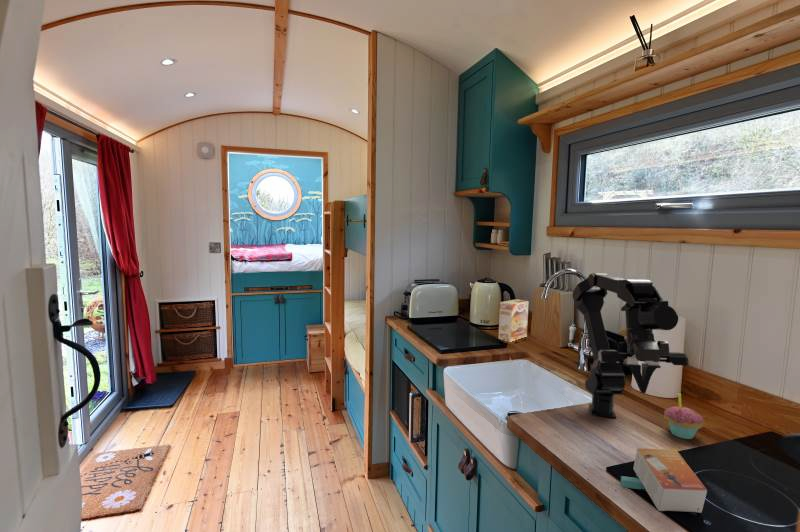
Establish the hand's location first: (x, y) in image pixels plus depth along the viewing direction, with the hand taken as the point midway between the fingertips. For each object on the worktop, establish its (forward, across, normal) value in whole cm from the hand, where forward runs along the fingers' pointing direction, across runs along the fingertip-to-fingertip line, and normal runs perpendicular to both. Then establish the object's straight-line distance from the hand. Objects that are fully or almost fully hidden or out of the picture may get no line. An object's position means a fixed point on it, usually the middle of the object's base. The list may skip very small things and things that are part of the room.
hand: (643, 392), depth 100 cm
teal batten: (+17, -3, -16) cm, 24 cm away
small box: (+11, -2, -14) cm, 18 cm away
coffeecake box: (-7, -35, +89) cm, 95 cm away
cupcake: (+12, +11, +12) cm, 20 cm away
